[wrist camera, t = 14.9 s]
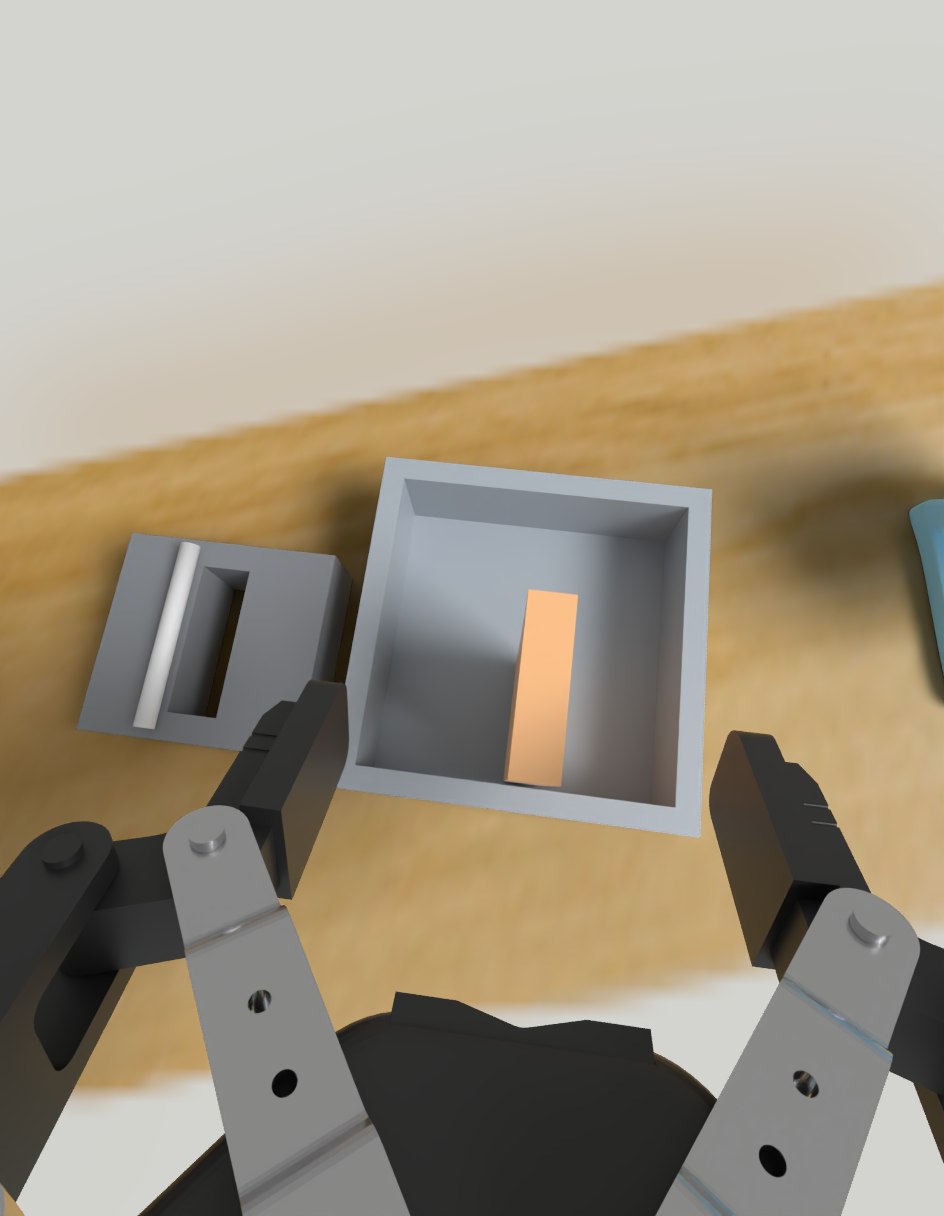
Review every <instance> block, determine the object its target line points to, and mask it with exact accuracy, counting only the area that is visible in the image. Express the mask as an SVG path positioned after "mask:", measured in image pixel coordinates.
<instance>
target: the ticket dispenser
mask: <svg viewBox="0 0 944 1216" xmlns="http://www.w3.org/2000/svg"><path fill="white" fill-rule="evenodd" d="M351 585H352V578H351V577H350V576H349V574H348V573H347V571H346V570H345V568H344V567H343V566H342V564H341V563H340V561H339V560H338V558H337V557H336V556H335V555H327V554H318V553H309V552H300V551H291V550H282V549H273V548H264V547H255V546H246V545H237V544H228V543H219V542H210V541H201V540H192V539H183V538H174V537H165V536H156V535H147V534H138V533H132V535H131V538H130V542H129V545H128V549H127V552H126V556H125V559H124V563H123V567H122V570H121V574H120V577H119V581H118V584H117V588H116V591H115V595H114V598H113V602H112V605H111V609H110V612H109V616H108V619H107V623H106V626H105V630H104V633H103V637H102V640H101V644H100V647H99V651H98V654H97V658H96V661H95V665H94V668H93V672H92V675H91V679H90V682H89V686H88V689H87V693H86V696H85V700H84V703H83V707H82V710H81V714H80V717H79V721H78V725H77V728H76V729H78V730H86V731H93V732H101V733H108V734H116V735H123V736H131V737H138V738H146V739H153V740H160V741H168V742H175V743H183V744H190V745H198V746H205V747H213V748H220V749H228V750H235V751H242V750H243V746H244V745H245V743H246V741H247V740H248V738H249V736H251V735H252V732H253V730H254V728H255V727H256V725H257V723H258V722H259V720H260V718H261V717H262V715H263V714H264V713H266V712H267V711H268V710H270V709H271V708H272V707H274V706H275V705H276V704H278V703H279V702H280V701H282V700H284V701H293V702H297V700H298V698H299V697H300V695H301V693H302V691H303V689H304V688H305V686H306V684H307V683H308V681H309V680H320V681H328V682H334V677H335V671H336V666H337V661H338V655H339V650H340V645H341V639H342V634H343V628H344V623H345V618H346V612H347V607H348V601H349V596H350V591H351ZM235 590H244V591H245V594H244V599H243V603H242V608H241V612H240V616H239V621H238V625H237V629H236V634H235V638H234V642H233V647H232V651H231V655H230V660H229V664H228V668H227V673H226V677H225V681H224V686H223V690H222V694H221V699H220V703H219V707H218V712H217V716H216V718H210V717H205V714H206V710H207V706H208V701H209V697H210V693H211V689H212V684H213V680H214V676H215V671H216V667H217V663H218V659H219V654H220V650H221V646H222V642H223V637H224V633H225V629H226V625H227V620H228V616H229V612H230V608H231V603H232V599H233V595H234V591H235Z"/></svg>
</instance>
